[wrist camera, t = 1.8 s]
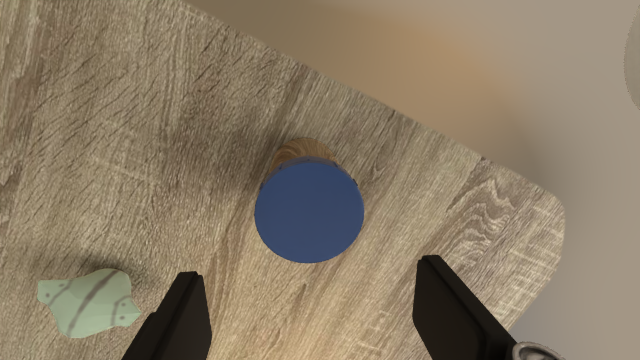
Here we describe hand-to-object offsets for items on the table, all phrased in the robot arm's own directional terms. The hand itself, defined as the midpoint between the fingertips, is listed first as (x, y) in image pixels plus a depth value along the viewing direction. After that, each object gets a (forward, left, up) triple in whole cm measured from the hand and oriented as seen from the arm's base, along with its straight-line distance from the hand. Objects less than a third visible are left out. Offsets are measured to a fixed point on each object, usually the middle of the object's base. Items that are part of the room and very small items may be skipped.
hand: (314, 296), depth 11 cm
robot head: (+20, -6, -17) cm, 27 cm away
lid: (0, 0, -7) cm, 7 cm away
